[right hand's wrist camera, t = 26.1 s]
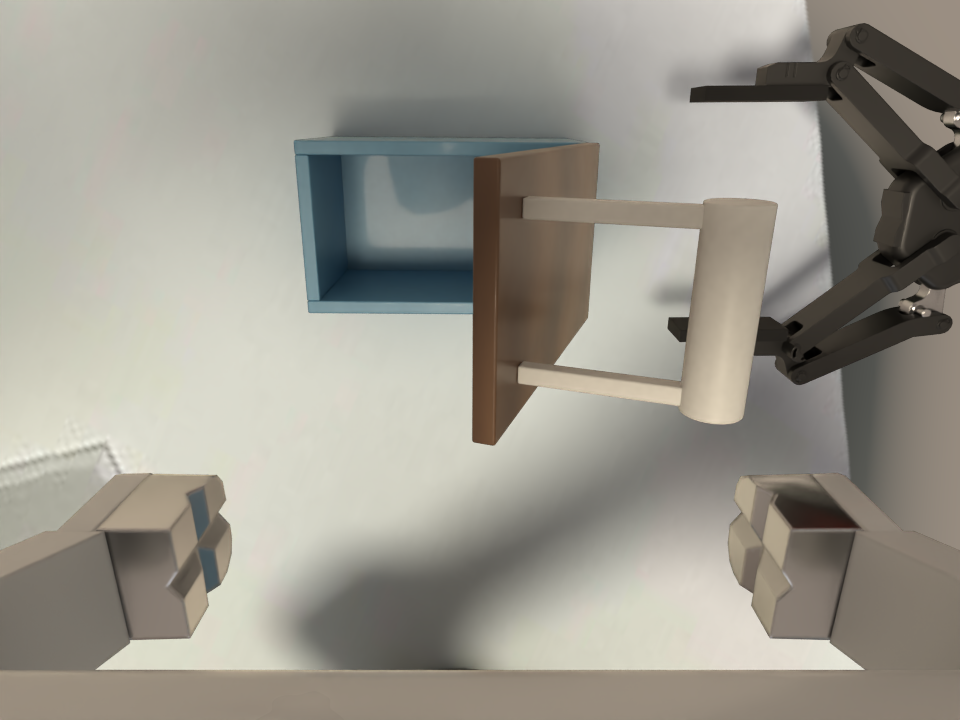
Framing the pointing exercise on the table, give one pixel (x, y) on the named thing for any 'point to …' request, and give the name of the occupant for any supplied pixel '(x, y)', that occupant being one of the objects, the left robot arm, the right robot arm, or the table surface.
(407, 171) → the chest
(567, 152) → the lid
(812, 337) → the left robot arm
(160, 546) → the right robot arm
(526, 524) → the table surface
